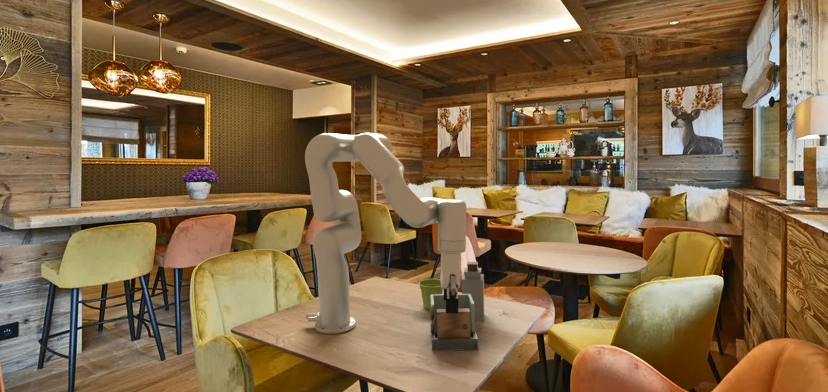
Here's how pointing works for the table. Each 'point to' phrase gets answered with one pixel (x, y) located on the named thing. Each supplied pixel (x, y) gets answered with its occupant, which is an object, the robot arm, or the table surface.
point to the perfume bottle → (474, 288)
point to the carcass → (463, 303)
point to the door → (453, 324)
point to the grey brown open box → (452, 340)
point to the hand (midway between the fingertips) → (450, 306)
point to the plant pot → (429, 290)
